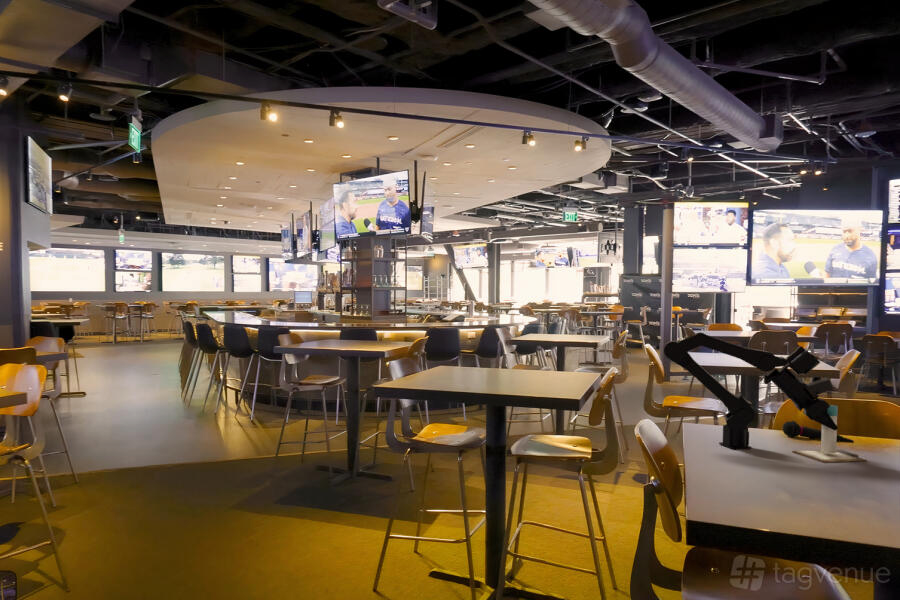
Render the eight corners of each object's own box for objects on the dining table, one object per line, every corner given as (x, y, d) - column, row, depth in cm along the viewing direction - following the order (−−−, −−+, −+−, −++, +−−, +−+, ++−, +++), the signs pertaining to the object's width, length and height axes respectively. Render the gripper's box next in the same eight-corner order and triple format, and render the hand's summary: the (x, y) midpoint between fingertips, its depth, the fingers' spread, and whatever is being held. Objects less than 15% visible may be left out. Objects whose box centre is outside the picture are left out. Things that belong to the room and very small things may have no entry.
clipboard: (823, 462, 155) (823, 458, 155) (792, 452, 166) (792, 448, 166) (866, 461, 158) (866, 457, 158) (833, 451, 169) (833, 447, 169)
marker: (833, 453, 159) (834, 407, 159) (818, 450, 162) (819, 405, 162) (838, 452, 162) (839, 406, 162) (823, 449, 165) (824, 404, 165)
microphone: (849, 451, 183) (779, 437, 190) (850, 433, 185) (781, 420, 191) (856, 449, 178) (784, 435, 185) (857, 431, 180) (785, 417, 186)
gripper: (821, 370, 155) (869, 415, 151) (807, 364, 172) (850, 404, 168) (787, 397, 158) (833, 441, 154) (777, 388, 175) (818, 428, 171)
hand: (834, 427), depth 162 cm, fingers open, 4 cm apart
